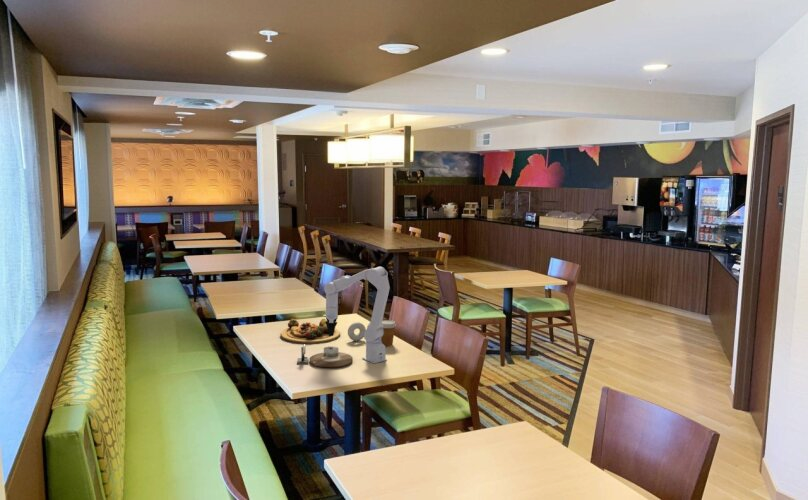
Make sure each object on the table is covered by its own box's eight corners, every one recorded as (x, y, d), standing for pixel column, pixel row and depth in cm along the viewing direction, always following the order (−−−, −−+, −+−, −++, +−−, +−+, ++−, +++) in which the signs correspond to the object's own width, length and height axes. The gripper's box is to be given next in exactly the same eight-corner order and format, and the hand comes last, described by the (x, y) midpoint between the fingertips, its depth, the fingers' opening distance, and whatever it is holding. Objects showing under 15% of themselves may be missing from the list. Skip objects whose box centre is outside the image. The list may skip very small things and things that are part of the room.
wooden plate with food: (269, 335, 318) (269, 320, 317) (318, 325, 339) (318, 311, 338) (301, 349, 295) (301, 334, 294) (351, 338, 316) (352, 323, 315)
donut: (364, 339, 312) (364, 320, 311) (366, 340, 309) (367, 322, 308) (346, 340, 308) (346, 322, 307) (348, 342, 305) (348, 323, 304)
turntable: (361, 361, 272) (361, 359, 272) (324, 370, 260) (324, 368, 259) (336, 351, 288) (336, 349, 287) (301, 359, 275) (301, 357, 274)
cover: (341, 355, 278) (341, 348, 278) (328, 357, 274) (328, 351, 274) (333, 351, 284) (333, 345, 283) (320, 354, 279) (320, 348, 279)
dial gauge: (297, 364, 269) (297, 346, 268) (297, 360, 274) (297, 343, 273) (308, 363, 270) (308, 346, 269) (308, 360, 275) (308, 342, 274)
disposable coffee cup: (379, 347, 297) (379, 324, 295) (375, 342, 306) (375, 320, 304) (397, 346, 299) (398, 323, 298) (393, 341, 309) (393, 319, 307)
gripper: (323, 302, 291) (323, 329, 293) (323, 309, 277) (322, 337, 279) (338, 303, 292) (337, 329, 294) (338, 310, 278) (337, 337, 279)
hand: (331, 333), depth 286 cm, fingers open, 7 cm apart
